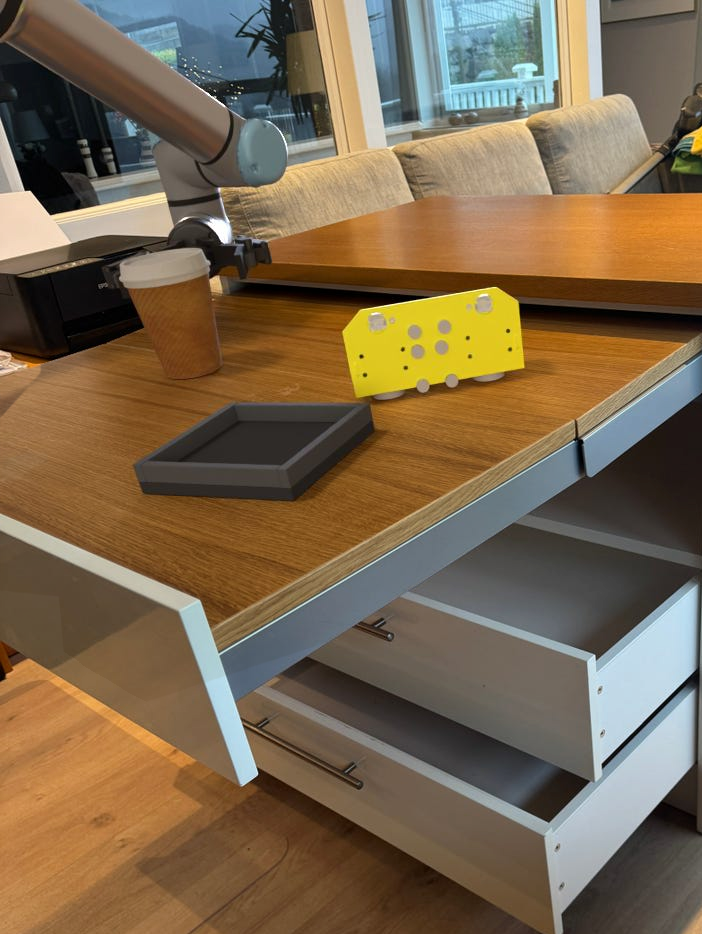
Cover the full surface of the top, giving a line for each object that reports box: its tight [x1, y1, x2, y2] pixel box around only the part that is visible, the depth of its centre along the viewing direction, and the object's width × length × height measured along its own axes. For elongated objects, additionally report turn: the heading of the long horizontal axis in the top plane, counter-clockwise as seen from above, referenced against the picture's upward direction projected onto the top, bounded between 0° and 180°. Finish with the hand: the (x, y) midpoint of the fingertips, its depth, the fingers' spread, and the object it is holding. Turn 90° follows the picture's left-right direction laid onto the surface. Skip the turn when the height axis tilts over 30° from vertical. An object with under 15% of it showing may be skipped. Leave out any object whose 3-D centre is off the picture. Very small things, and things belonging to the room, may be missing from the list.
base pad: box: [132, 401, 376, 502], centre depth 73 cm, size 14×14×2 cm
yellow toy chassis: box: [341, 286, 525, 401], centre depth 83 cm, size 16×6×8 cm, turn 101°
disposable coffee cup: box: [119, 248, 223, 380], centre depth 97 cm, size 10×10×12 cm
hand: (181, 276), depth 104 cm, fingers open, 13 cm apart
